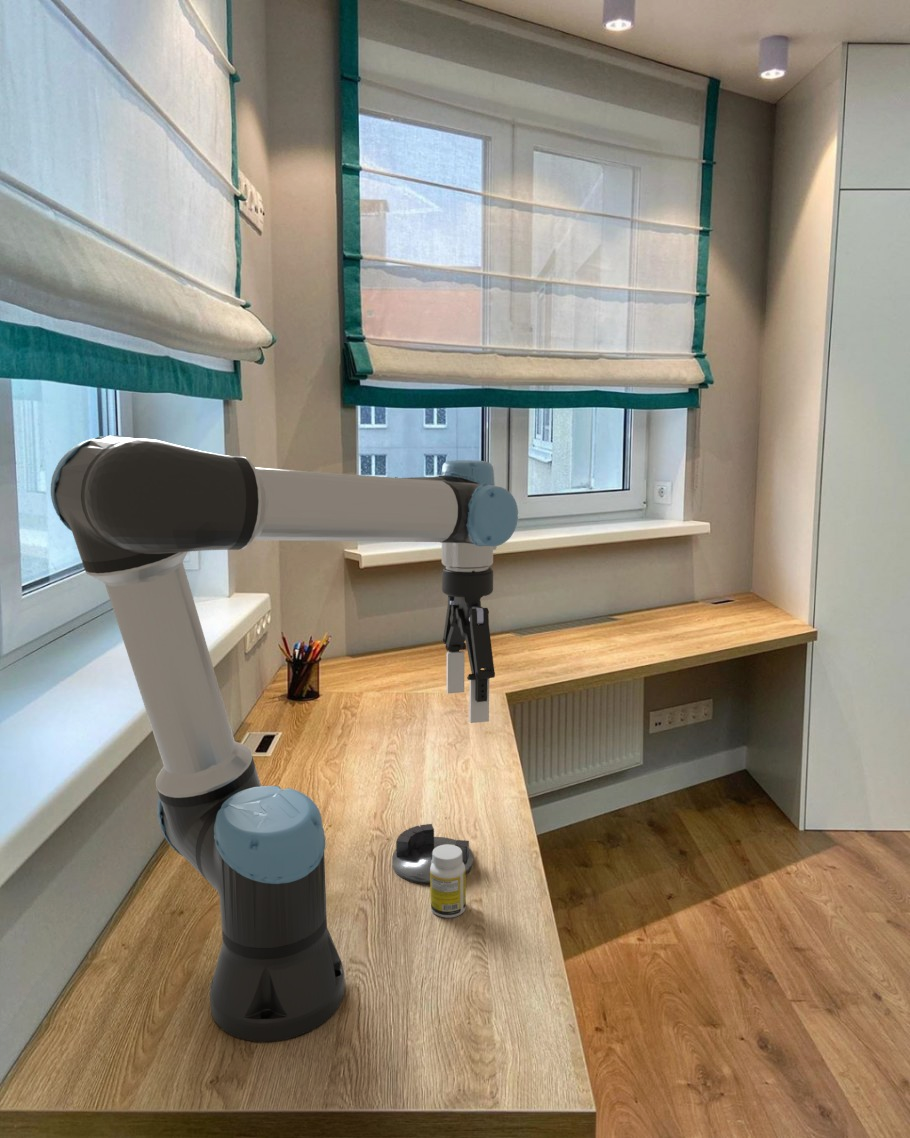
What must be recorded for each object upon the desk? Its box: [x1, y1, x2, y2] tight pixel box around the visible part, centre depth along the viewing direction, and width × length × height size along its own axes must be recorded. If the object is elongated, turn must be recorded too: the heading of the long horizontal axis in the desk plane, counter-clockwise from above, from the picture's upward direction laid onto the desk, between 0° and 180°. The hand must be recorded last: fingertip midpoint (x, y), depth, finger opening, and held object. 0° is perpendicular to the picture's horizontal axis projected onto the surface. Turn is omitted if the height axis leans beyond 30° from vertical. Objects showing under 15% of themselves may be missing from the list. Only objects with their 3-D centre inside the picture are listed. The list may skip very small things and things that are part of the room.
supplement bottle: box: [429, 844, 467, 919], centre depth 116 cm, size 5×5×8 cm
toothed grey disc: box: [391, 823, 474, 886], centre depth 128 cm, size 12×12×4 cm
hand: (466, 706), depth 130 cm, fingers open, 13 cm apart
